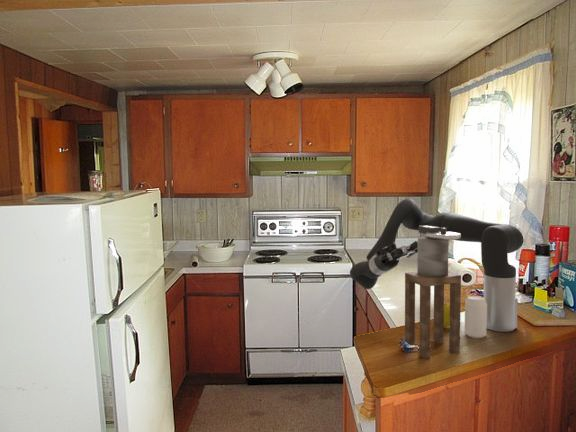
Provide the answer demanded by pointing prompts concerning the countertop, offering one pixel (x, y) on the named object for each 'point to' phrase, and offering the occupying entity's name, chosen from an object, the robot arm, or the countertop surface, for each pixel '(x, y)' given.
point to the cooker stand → (434, 274)
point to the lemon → (446, 315)
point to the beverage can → (475, 316)
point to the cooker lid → (438, 233)
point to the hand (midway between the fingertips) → (406, 244)
